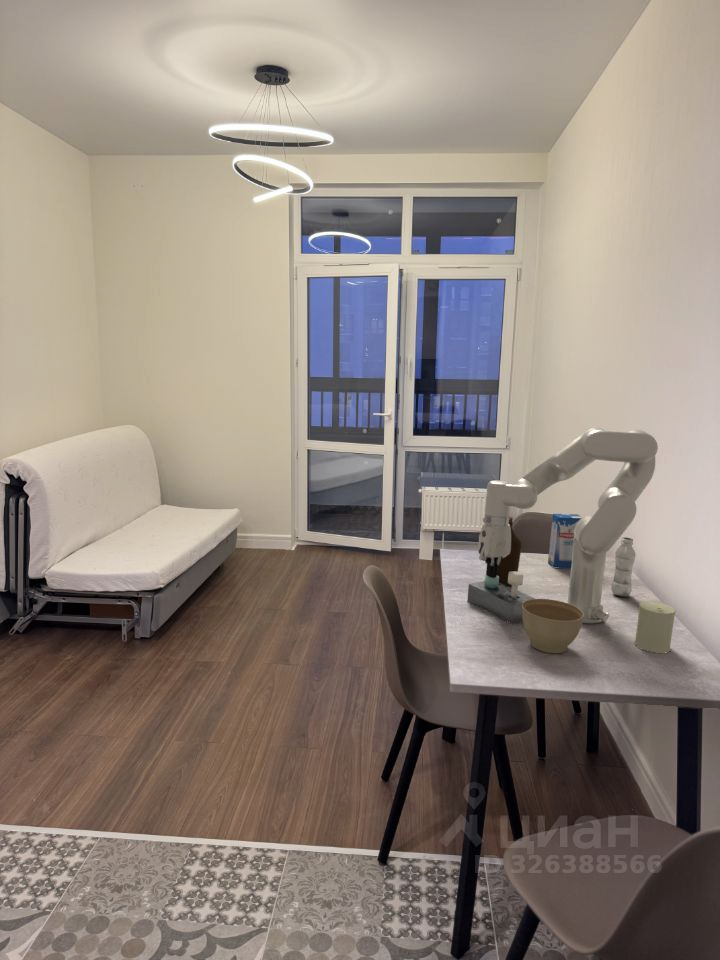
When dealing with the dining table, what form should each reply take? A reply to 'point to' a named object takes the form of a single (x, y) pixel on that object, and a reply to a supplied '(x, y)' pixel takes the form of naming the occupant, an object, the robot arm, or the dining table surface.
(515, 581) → the cream knob
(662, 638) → the can
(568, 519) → the milk carton
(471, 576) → the dining table surface
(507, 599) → the mount block
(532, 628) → the planter bowl
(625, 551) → the plastic bottle
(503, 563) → the olive oil
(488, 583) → the teal knob
